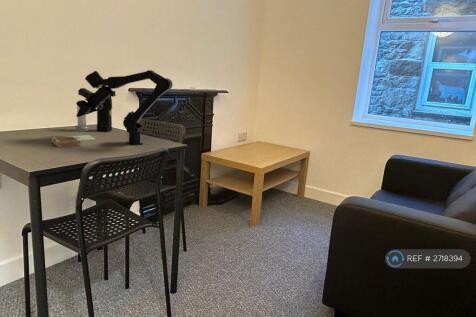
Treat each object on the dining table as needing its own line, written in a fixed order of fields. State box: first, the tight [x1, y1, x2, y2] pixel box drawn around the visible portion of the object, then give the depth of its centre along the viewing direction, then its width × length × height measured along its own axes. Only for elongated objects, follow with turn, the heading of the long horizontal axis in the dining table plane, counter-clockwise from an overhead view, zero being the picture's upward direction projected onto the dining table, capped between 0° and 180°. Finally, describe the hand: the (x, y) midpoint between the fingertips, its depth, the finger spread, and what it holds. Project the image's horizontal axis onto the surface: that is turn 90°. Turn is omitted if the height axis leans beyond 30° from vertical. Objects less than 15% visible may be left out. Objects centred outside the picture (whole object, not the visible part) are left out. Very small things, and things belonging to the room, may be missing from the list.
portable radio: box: [96, 87, 113, 133], centre depth 198 cm, size 8×6×25 cm
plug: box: [75, 104, 90, 132], centre depth 173 cm, size 6×6×14 cm
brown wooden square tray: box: [51, 135, 82, 148], centre depth 162 cm, size 10×10×2 cm
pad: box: [68, 134, 97, 142], centre depth 176 cm, size 10×10×1 cm
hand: (79, 115), depth 173 cm, fingers closed on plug, 4 cm apart
